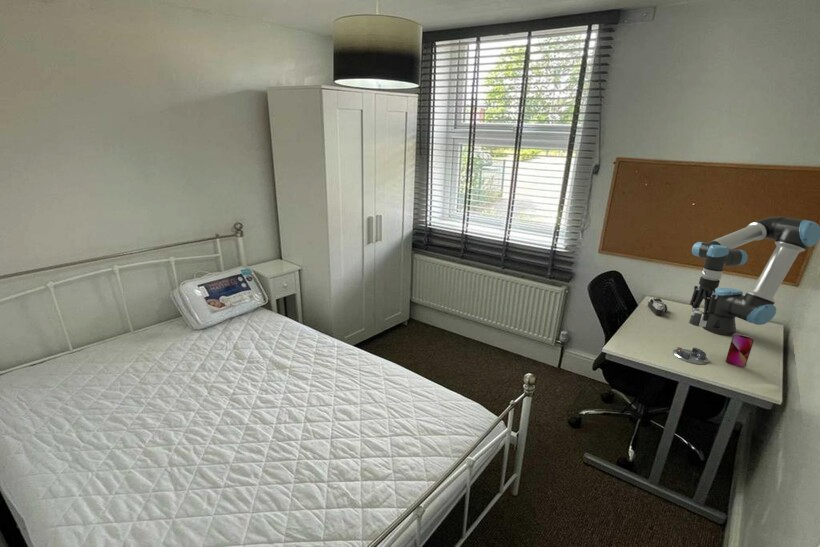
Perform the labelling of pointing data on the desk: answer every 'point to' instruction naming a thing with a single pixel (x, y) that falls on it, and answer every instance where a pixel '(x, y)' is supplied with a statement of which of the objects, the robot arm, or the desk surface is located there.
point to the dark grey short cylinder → (695, 317)
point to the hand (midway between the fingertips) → (697, 323)
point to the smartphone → (739, 350)
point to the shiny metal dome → (691, 355)
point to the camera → (657, 306)
